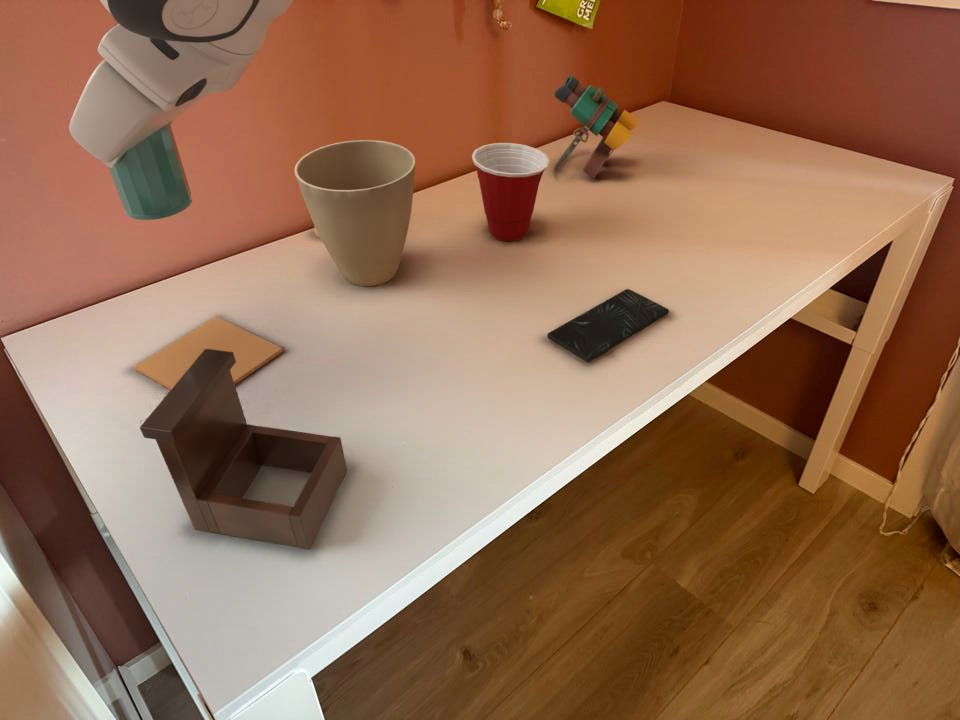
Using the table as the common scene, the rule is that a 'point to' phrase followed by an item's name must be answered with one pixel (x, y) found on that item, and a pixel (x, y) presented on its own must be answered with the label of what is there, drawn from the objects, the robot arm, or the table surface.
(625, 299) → the smartphone
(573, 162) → the table surface
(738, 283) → the table surface
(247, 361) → the mat
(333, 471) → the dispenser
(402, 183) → the plant pot
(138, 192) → the cup
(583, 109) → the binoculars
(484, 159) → the plastic cup
